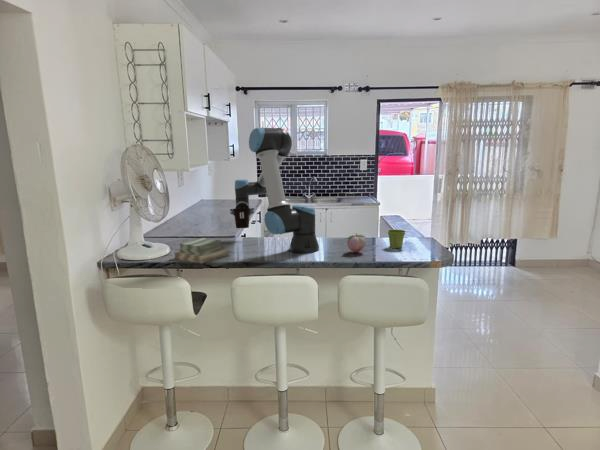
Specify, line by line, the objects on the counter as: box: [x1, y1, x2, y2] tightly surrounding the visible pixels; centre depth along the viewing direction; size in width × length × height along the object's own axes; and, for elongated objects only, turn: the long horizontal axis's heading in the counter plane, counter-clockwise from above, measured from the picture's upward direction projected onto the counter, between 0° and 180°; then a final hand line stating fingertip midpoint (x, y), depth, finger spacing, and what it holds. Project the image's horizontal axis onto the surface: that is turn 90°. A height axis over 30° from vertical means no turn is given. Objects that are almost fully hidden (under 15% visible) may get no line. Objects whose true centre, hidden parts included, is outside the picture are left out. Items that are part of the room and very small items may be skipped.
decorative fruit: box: [346, 233, 367, 254], centre depth 195 cm, size 9×8×10 cm
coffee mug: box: [232, 207, 251, 229], centre depth 199 cm, size 12×9×10 cm
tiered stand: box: [174, 237, 229, 265], centre depth 193 cm, size 18×18×8 cm
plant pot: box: [387, 228, 407, 249], centre depth 204 cm, size 9×9×9 cm
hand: (241, 215), depth 194 cm, fingers closed on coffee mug
